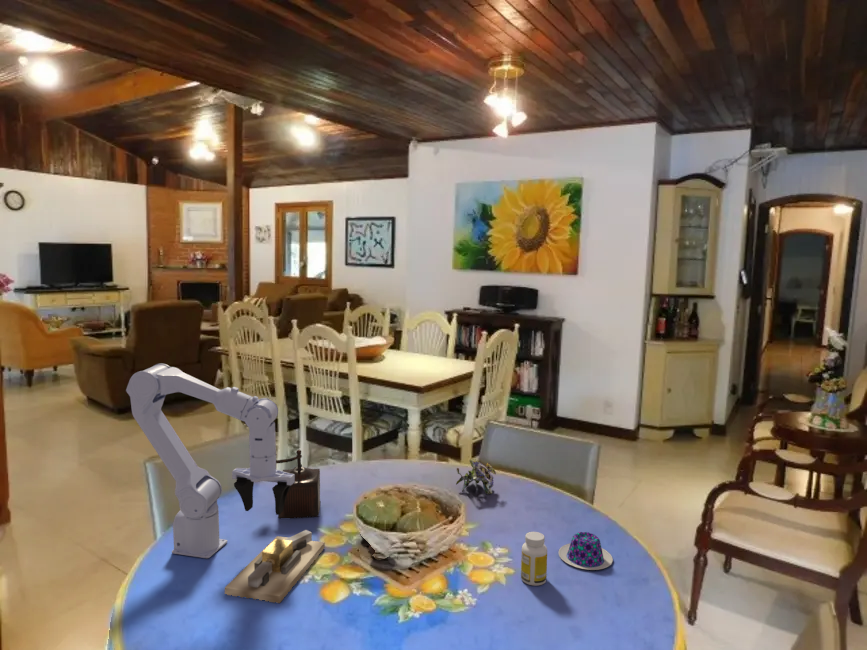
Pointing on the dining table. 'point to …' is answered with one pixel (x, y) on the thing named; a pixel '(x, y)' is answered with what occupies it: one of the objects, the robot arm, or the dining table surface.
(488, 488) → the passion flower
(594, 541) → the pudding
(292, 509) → the brown manual coffee grinder
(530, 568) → the supplement bottle
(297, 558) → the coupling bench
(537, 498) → the dining table surface
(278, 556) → the block
